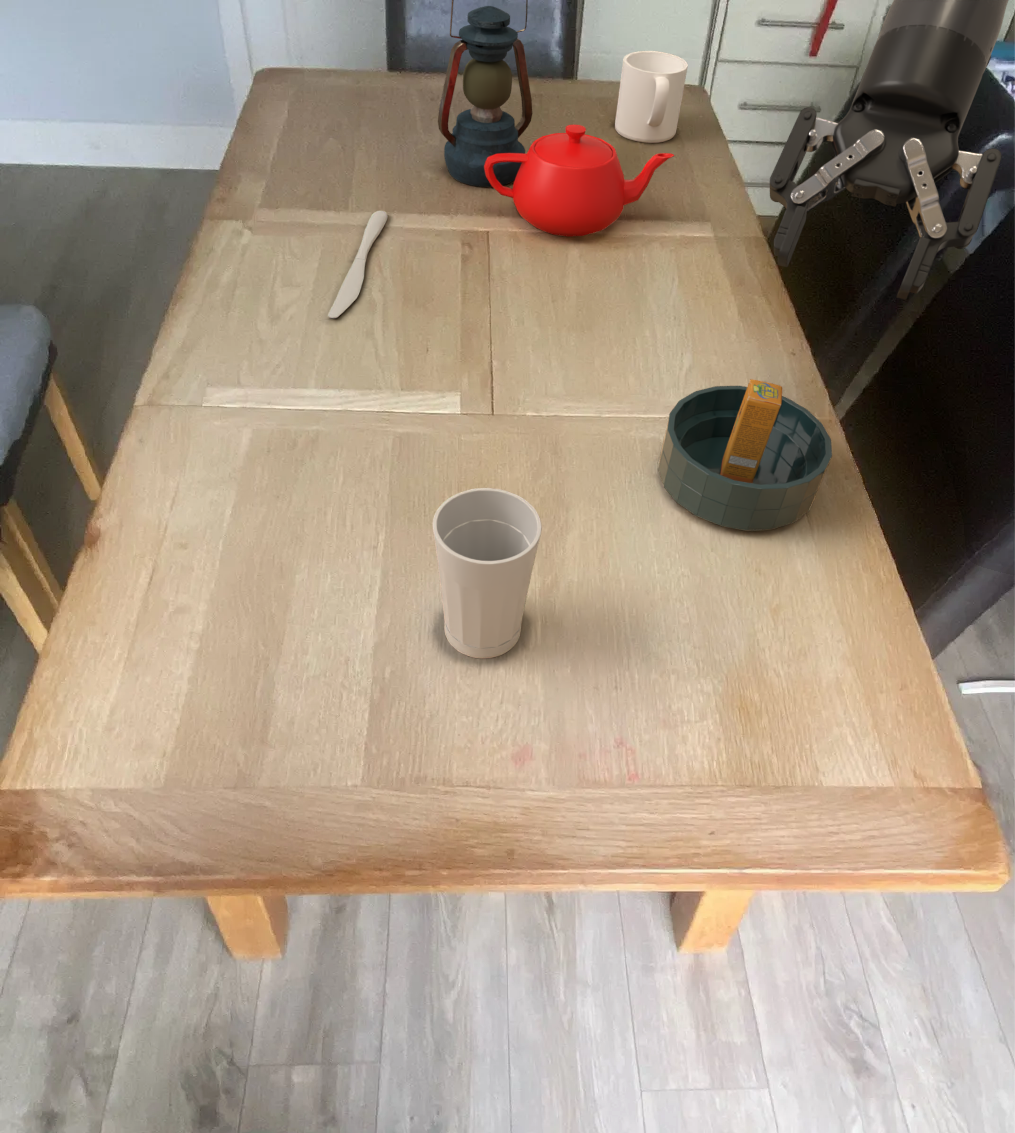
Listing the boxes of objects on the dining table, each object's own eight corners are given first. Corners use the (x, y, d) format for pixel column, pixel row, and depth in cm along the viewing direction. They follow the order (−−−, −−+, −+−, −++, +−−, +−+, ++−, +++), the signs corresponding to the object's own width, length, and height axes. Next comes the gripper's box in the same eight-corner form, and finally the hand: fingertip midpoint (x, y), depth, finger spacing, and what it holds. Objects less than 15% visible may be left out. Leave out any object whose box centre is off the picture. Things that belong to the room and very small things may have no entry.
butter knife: (395, 211, 123) (374, 207, 123) (346, 319, 105) (321, 315, 105) (395, 215, 123) (374, 211, 123) (346, 324, 105) (321, 320, 105)
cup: (523, 673, 72) (533, 571, 63) (424, 658, 72) (421, 554, 64) (536, 599, 77) (548, 495, 68) (445, 585, 78) (445, 480, 69)
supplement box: (754, 489, 87) (782, 405, 80) (718, 482, 88) (743, 398, 80) (756, 467, 89) (783, 383, 82) (721, 461, 90) (745, 377, 82)
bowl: (810, 446, 93) (828, 399, 89) (814, 549, 83) (835, 501, 79) (664, 422, 95) (674, 375, 90) (650, 520, 85) (661, 471, 80)
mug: (610, 117, 151) (618, 50, 143) (669, 119, 151) (680, 51, 144) (622, 149, 142) (632, 79, 135) (684, 150, 143) (697, 80, 135)
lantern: (454, 195, 128) (456, -107, 103) (425, 161, 136) (420, -129, 110) (544, 182, 133) (567, -111, 107) (512, 149, 140) (526, -132, 114)
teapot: (481, 242, 119) (484, 148, 111) (483, 189, 130) (486, 100, 121) (669, 250, 120) (686, 158, 111) (655, 197, 131) (671, 109, 122)
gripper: (831, 1, 61) (742, 232, 62) (1055, 43, 57) (955, 289, 58) (825, 64, 68) (745, 270, 69) (1023, 105, 64) (935, 323, 65)
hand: (841, 278), depth 64 cm, fingers open, 8 cm apart
